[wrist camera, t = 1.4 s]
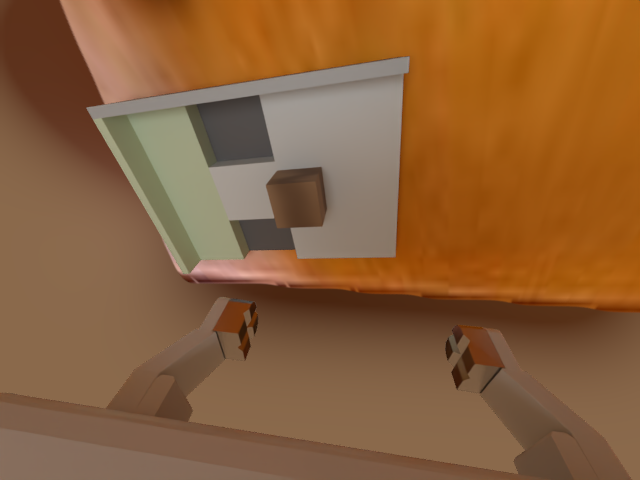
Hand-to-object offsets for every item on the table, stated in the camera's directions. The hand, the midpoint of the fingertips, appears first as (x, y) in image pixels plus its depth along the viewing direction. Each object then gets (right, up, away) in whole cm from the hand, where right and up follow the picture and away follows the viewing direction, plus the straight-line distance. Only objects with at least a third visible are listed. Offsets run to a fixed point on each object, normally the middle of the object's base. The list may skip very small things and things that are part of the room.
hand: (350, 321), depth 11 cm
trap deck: (-7, +10, +21) cm, 24 cm away
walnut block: (-3, +9, +18) cm, 21 cm away
